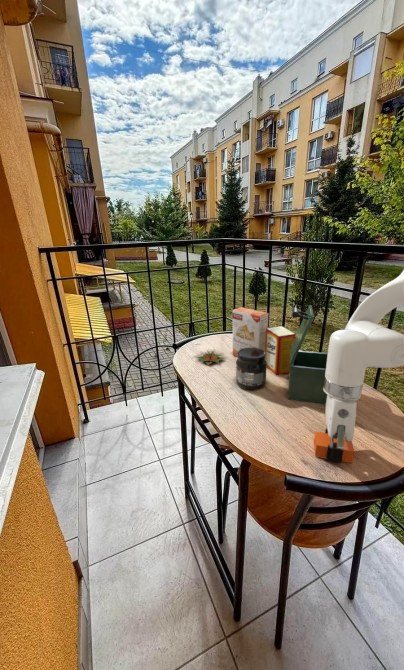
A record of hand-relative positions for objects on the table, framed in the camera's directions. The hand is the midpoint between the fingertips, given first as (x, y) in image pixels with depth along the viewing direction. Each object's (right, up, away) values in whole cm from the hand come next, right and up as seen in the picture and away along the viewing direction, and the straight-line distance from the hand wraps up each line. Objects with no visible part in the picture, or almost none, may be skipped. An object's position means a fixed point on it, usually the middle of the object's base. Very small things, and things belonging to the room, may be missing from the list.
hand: (332, 450), depth 68 cm
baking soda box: (-2, +15, +41) cm, 44 cm away
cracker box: (-12, +18, +51) cm, 55 cm away
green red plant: (-28, +17, +51) cm, 61 cm away
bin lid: (0, +28, +19) cm, 34 cm away
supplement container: (-14, +11, +32) cm, 36 cm away
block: (0, 0, 0) cm, 0 cm away
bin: (+5, +9, +25) cm, 27 cm away
